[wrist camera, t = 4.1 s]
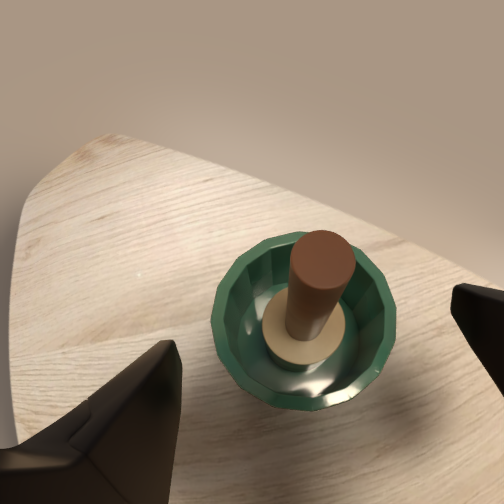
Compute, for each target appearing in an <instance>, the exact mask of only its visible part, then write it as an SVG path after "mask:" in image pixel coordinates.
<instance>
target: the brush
mask: <svg viewBox="0 0 504 504" xmlns="http://www.w3.org/2000/svg"><path fill="white" fill-rule="evenodd" d="M355 264H356V261H355V255H354V251H353V249H352V247H351V246H350V244H349V243H348V242H347V241H346V240H345V239H344V238H343V237H341V236H340V235H338V234H336V233H334V232H331V231H326V230H317V231H312V232H309V233H307V234H305V235H303V236H302V237H301V238H299V239H298V240H297V242H296V243H295V244H294V246H293V248H292V251H291V256H290V270H289V283H288V287H287V288H285V289H283V290H281V291H280V292H278V293H277V294H276V295H275V296H274V297H273V298H272V299H271V300H270V301H269V303H268V304H267V306H266V308H265V310H264V313H263V317H262V332H263V337H264V342H265V347H266V350H267V352H268V354H269V356H270V357H271V359H272V360H273V361H274V362H275V363H276V364H277V365H279V366H280V367H282V368H284V369H286V370H289V371H294V372H305V371H309V370H312V369H314V368H316V367H318V366H319V365H321V364H322V363H323V362H324V361H325V360H326V359H327V358H329V357H330V356H331V355H332V354H333V353H334V352H335V351H336V349H337V348H338V347H339V345H340V344H341V342H342V339H343V337H344V333H345V316H344V313H343V310H342V308H341V306H340V304H339V302H338V301H339V299H340V297H341V295H342V294H343V292H344V290H345V288H346V286H347V284H348V282H349V280H350V279H351V277H352V275H353V272H354V270H355Z"/></svg>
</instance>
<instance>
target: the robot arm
mask: <svg viewBox="0 0 504 504" xmlns="http://www.w3.org/2000/svg"><path fill="white" fill-rule="evenodd" d="M450 310H451V314H452V316H453V318H454V320H455V321H456V323H457V325H458V326H459V328H460V330H461V331H462V333H463V335H464V337H465V338H466V340H467V342H468V344H469V345H470V347H471V348H472V350H473V351H474V353H475V354H476V356H477V357H478V359H479V360H480V362H481V363H482V365H483V366H484V367H485V369H486V370H487V372H488V373H489V375H490V377H491V378H492V380H493V381H494V383H495V384H496V386H497V387H498V389H499V390H500V392H501V394H502V395H503V397H504V291H502V290H497V289H492V288H487V287H482V286H477V285H471V284H466V283H462V284H459V285H456V286H454V288H453V291H452V299H451V307H450ZM181 399H182V362H181V359H180V356H179V353H178V350H177V347H176V344H175V342H174V341H173V340H161V341H159V342H158V343H157V344H155V345H154V346H153V347H152V348H150V349H149V350H148V351H147V352H145V353H144V354H143V355H142V356H140V357H139V358H138V359H137V360H135V361H134V362H133V363H131V364H130V365H129V366H128V367H126V368H125V369H124V370H123V371H121V372H120V373H119V374H118V375H116V376H115V377H114V378H113V379H111V380H110V381H109V382H107V383H106V384H105V385H104V386H102V387H101V388H100V389H99V390H97V391H96V392H95V393H93V394H92V395H91V396H90V397H88V399H87V400H84V401H83V402H82V403H81V404H79V405H78V406H77V407H75V408H74V409H73V410H71V411H70V412H69V413H67V414H66V415H65V416H63V417H62V418H60V419H59V420H57V421H56V422H54V423H53V424H51V425H50V426H48V427H47V428H45V429H43V430H42V431H40V432H39V433H37V434H36V435H34V436H32V437H31V438H29V439H28V440H26V441H25V442H23V443H21V444H19V445H17V446H15V447H12V448H7V449H0V504H168V502H169V493H170V486H171V478H172V470H173V463H174V456H175V449H176V442H177V435H178V428H179V422H180V415H181Z"/></svg>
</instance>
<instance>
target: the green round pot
mask: <svg viewBox="0 0 504 504" xmlns="http://www.w3.org/2000/svg"><path fill="white" fill-rule="evenodd" d="M307 233H309V232H300V231H299V232H293V233H289V234H285V235H281V236H277V237H272V238H268V239H266V240H263V241H262V242H260V243H259V244H257V245H256V246H254V247H253V248H251V249H250V250H248V251H247V252H245V253H244V254H242V255H241V256H239V257H238V259H236V261H235V262H234V263H233V265H232V266H231V268H230V269H229V271H228V272H227V273H226V275H225V276H224V278H223V279H222V281H221V282H220V284H219V285H218V287H217V291H216V296H215V301H214V305H213V310H212V315H211V321H210V322H211V327H212V332H213V337H214V342H215V347H216V352H217V355H218V358H219V359H220V361H221V362H222V363H223V365H224V366H225V368H226V369H227V371H228V372H229V373H230V375H231V376H232V377H233V379H234V380H235V382H236V383H237V384H238V386H240V388H242V389H243V390H245V391H247V392H248V393H250V394H252V395H253V396H255V397H257V398H258V399H260V400H262V401H264V402H265V403H267V404H269V405H270V406H272V407H275V408H283V409H291V410H300V411H310V412H312V411H318V410H321V409H324V408H328V407H331V406H334V405H337V404H340V403H344V402H347V401H350V400H351V399H353V398H354V397H355V396H356V395H358V394H359V393H360V392H361V391H362V390H363V389H365V388H366V387H367V386H368V385H369V384H370V383H371V382H372V381H374V380H375V379H376V378H377V377H378V376H379V374H380V373H381V371H382V369H383V367H384V365H385V363H386V361H387V359H388V357H389V354H390V352H391V350H392V348H393V346H394V343H395V339H396V305H395V302H394V299H393V297H392V294H391V291H390V289H389V286H388V284H387V281H386V279H385V276H384V275H383V273H382V272H381V271H380V270H379V269H378V268H377V267H376V265H375V264H374V263H373V262H372V261H371V260H370V259H369V258H368V257H367V256H366V255H365V254H364V253H363V252H362V251H361V250H360V249H358V248H356V247H354V246H352V245H350V246H351V247H352V249H353V251H354V255H355V261H356V264H355V270H354V272H353V275H352V277H351V279H350V280H349V282H348V284H347V286H346V288H345V290H344V292H343V294H342V295H341V297H340V299H339V301H338V302H339V304H340V306H341V308H342V310H343V313H344V316H345V333H344V337H343V339H342V342H341V344H340V345H339V347H338V348H337V349H336V351H335V352H334V353H333V354H332V355H331V356H330V357H329V358H327V359H326V360H325V361H324V362H323V363H322V364H321V365H319V366H318V367H316V368H314V369H312V370H309V371H305V372H294V371H289V370H286V369H284V368H282V367H280V366H279V365H277V364H276V363H275V362H274V361H273V360H272V359H271V357H270V356H269V354H268V352H267V350H266V347H265V342H264V337H263V332H262V317H263V313H264V310H265V308H266V306H267V304H268V303H269V301H270V300H271V299H272V298H273V297H274V296H275V295H276V294H277V293H278V292H280V291H281V290H283V289H285V288H287V287H288V283H289V270H290V256H291V251H292V248H293V246H294V244H295V243H296V242H297V240H298V239H299V238H301V237H302V236H303V235H305V234H307Z"/></svg>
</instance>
